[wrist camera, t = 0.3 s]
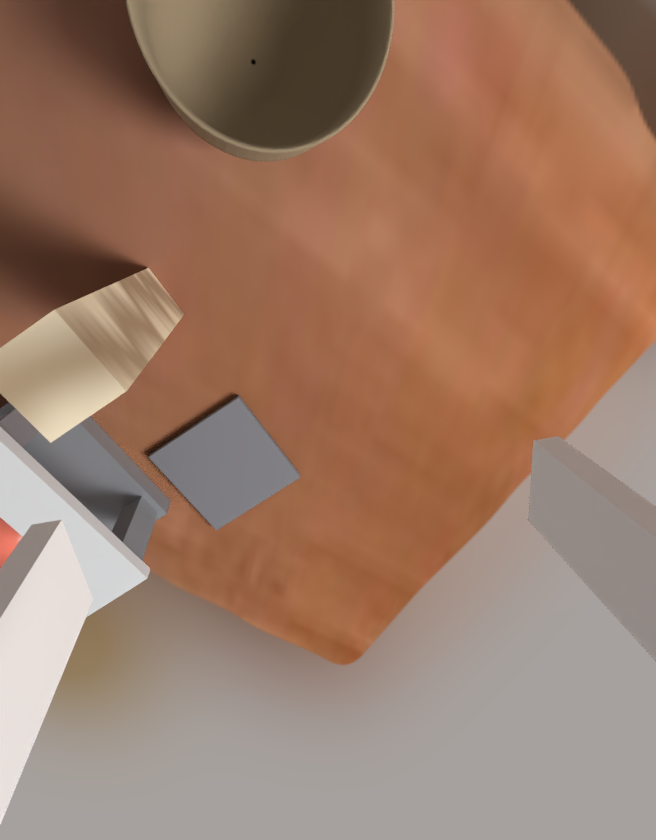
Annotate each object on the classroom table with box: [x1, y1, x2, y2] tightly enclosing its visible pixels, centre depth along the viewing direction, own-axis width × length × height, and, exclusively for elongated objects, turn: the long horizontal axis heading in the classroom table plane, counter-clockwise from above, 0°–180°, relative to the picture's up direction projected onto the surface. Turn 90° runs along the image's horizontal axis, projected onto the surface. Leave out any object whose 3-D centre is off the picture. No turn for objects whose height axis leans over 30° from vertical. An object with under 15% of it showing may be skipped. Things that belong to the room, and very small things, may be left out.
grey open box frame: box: [0, 402, 171, 617], centre depth 36 cm, size 14×14×10 cm
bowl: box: [125, 0, 394, 162], centre depth 27 cm, size 13×13×10 cm
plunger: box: [0, 518, 23, 568], centre depth 35 cm, size 4×4×5 cm
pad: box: [149, 395, 300, 530], centre depth 41 cm, size 9×9×1 cm
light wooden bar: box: [0, 268, 184, 443], centre depth 28 cm, size 4×4×18 cm
